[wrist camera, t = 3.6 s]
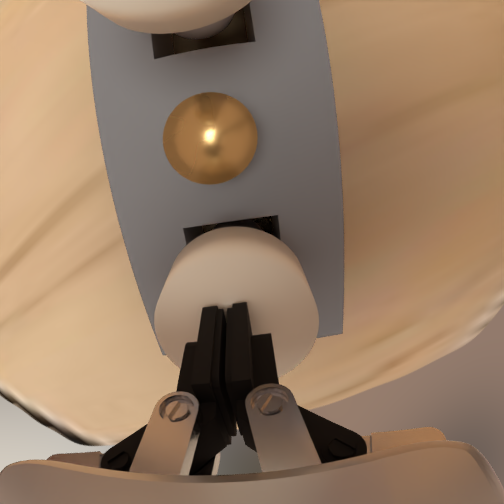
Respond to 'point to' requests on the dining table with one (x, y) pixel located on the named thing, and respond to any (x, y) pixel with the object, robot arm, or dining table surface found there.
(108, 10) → the ivory knob
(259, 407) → the robot arm
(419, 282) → the dining table surface
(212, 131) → the brass ball
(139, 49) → the mount
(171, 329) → the ivory knob
